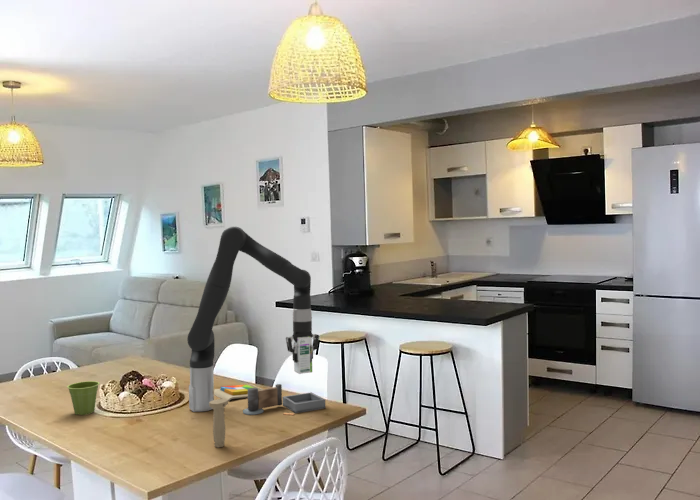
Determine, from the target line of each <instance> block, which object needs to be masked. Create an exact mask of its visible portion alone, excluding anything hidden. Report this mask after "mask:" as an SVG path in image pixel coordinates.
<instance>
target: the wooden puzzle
mask: <svg viewBox="0 0 700 500" xmlns="http://www.w3.org/2000/svg"><path fill="white" fill-rule="evenodd" d="M249 388H258V390H263V389H264V388H261V387H259V386H256V385H254V384H252V383H248V384H239V385H237V384H236V385H235V384H234V385H222V386H220V388H214V397H217V398H218V399H227V400H228V402H230V401H231V400H235V399H245V398H246V399H248V389H249Z"/></svg>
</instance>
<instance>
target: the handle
mask: <svg viewBox="0 0 700 500" xmlns="http://www.w3.org/2000/svg"><path fill="white" fill-rule="evenodd" d="M227 405H229V401H228V400H227V399H221V398H218V399H217V398H216V399H214V400H213V401H210V402H209V406H210V407H211V408H213V409H212V410H213V418H212V419H213V420H212V421H213V425H212V427H213V428H212V436H213V442H214V443H213V445H214V448H223V447H224V446H225V441H226V422H225V420H226V419H225V407H226V406H227Z"/></svg>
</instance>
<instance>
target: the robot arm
mask: <svg viewBox="0 0 700 500" xmlns="http://www.w3.org/2000/svg"><path fill="white" fill-rule="evenodd" d="M239 252H241V253H244V254H246V255H248V256H250V257H251V258H253V259H254V260H255V261H257V262H258V263H260V264H261V265H262V266H264V268H266V269H267V270H269V271H271V272H273V274H274V273H275V274H276V275H277V276H279V277H281V278H283V279H285V280H286V281H288V282H289V283H290V285H291V284H292V285H293V291H294V292H293V294H294V295H293V301H292V302H293V303H292V304H293V307H292V308H293V309H292V310H293V311H292V333H293V334H292V335H291V336H286V337H285V341H286V347H287V351H288V352H290V353H292V361H293V363H294V362H295V363H297V362H298V353H297V351H298V344H297V345H295V342H296V343H297V338H298V337H305V336H306V337H308V336H311V337H312V340H313V341H312V360H314V351H315V350H318V348H319V347H318V346H319V342H320V341H319V340H320V335H319V334H316V333H313V332H312V331H313V329H312V327H313V324H312V323H313V321H312V320H313V317H312V303H311V302H312V300H311V286H312V285H311V283H312V282H311V280H312V279H311V274H310V272H309V271H308V270H306V269H301V268H299V267H298V266H296V265H294V264H293V263H292V262H291V261H290V260H288V259H286V258H285V257H284V256H282V255H280V254H278V253H277V252H274V251H272V250H271V249H269V248H267V247H266V246H264V245H262V244H261V243H260V242H258V241H256V240H255V239H254V238H253V237H251V236H250V235H249V234H248V233H247V232H246V231H245V230H243V229H242V228H241V227H239V226H228V227H226V228H225V229H224V230H223V232H222V233H221V235H220V239H219V244H218V249H217V254H216V256H215V260H214V263H213V265H212V267H211V269H210V272H209V275H208V277H207V280H206V282H205V285H204V289H203V292H202V296H201V299H200V303H199V307H198V311H197V313H196V316H195V318H194V322H193V323H192V326H191V328H190V330H189V332H188V335H187V344H188V347H189V348H190V349H191V354H190V358H189V384H188V409H190V410H191V412H193V413H194V412H208V411H211V410H214V409H213V408H211V407H210V406H209V402H210V401H213V400H215V395H214V389H215V388H214V387H215V382H214V381H215V380H214V377H215V376H214V360H215V334H214V331H213V327H214V324H215V321H216V318H217V317H218V314H219V312H221V309H222V307H223V305H224V303H225V301H226V299H227V296H228V293H229V290H230V288H231V284H232V278H233V270H234V265H235V261H236V258H237V256H238V254H239ZM293 339H294V341H295V342H294V343H293Z"/></svg>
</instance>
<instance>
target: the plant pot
mask: <svg viewBox="0 0 700 500" xmlns="http://www.w3.org/2000/svg"><path fill="white" fill-rule="evenodd" d="M99 385H100V382H99V381H96V380H95V381H94V380H87V381H79V382H75V383H70V384H69V385H66V388H67V389H68V392H69V394H70V398H71V402H72V403H71V404H72V406H73V412H74V414H75V415H80V416H85V415H90V414H92V413H94V412H95V409H96V401H97V394H98V390H99V389H98V388H99Z"/></svg>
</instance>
